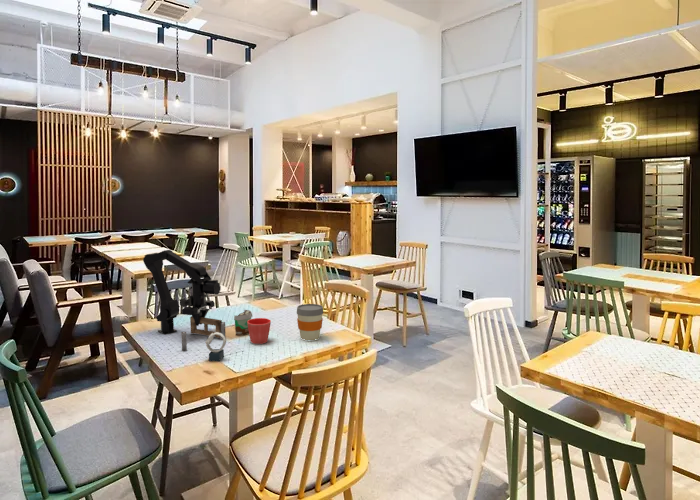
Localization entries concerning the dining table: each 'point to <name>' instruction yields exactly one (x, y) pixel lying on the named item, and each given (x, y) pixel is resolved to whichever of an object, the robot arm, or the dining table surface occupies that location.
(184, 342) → the grey piece
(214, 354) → the ring on dark base
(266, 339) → the flower pot
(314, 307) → the reusable coffee cup
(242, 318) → the food container
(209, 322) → the wooden frame
